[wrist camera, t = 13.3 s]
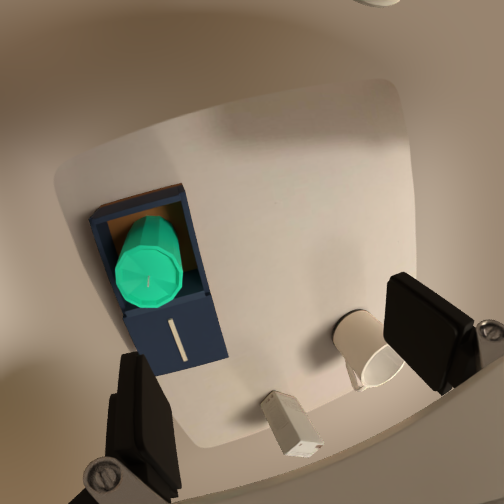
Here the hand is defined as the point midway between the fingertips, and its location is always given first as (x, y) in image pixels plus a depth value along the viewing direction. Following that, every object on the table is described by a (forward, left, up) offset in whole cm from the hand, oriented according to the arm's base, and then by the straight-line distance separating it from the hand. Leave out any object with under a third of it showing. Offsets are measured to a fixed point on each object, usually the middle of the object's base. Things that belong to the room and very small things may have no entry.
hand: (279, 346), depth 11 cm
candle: (+3, -6, -27) cm, 28 cm away
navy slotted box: (+8, -6, -28) cm, 30 cm away
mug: (+28, +19, -28) cm, 44 cm away
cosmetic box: (+38, +5, -28) cm, 47 cm away
